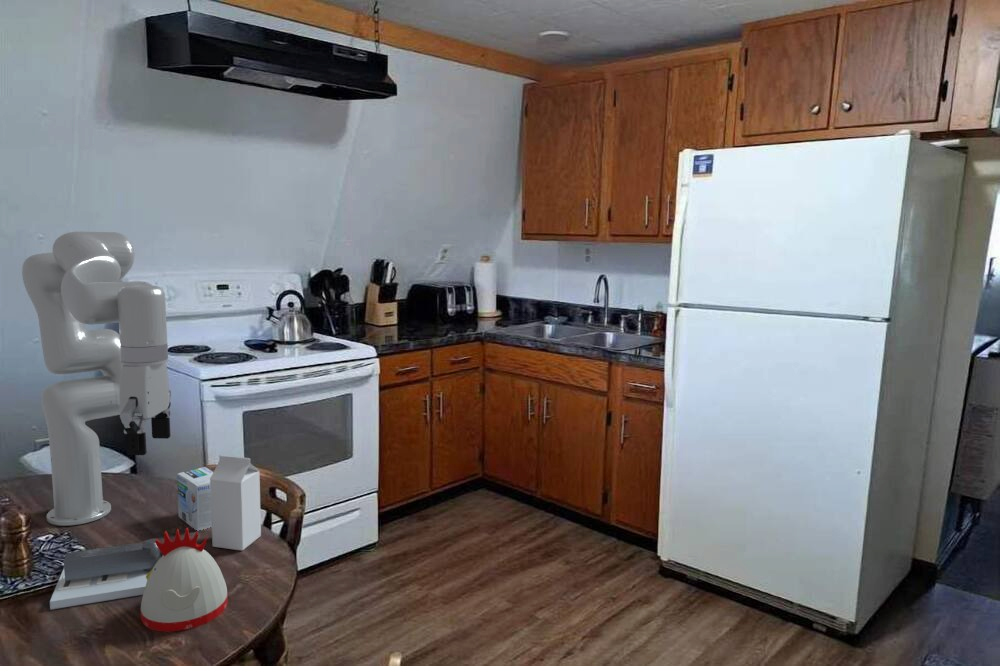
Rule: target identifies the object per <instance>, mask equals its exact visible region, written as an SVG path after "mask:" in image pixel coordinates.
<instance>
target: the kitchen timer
mask: <svg viewBox="0 0 1000 666" xmlns="http://www.w3.org/2000/svg"><path fill="white" fill-rule="evenodd" d="M189 531H190V530H189V528H188V527H186V528H185V532H184V537H183V539H182V538H181V536H180V530H179V528H177V529H176V532H175V535H174V536H175V537H174V540H171V538H170V536H169V534H168V531H167V530H165V531H164V535H163V537H164V539H163V542H161V540H160V541H158V540H157V539H158V538H155V539H156V540H155V543H156V545H157V547H158V548H159V550H160V554H162V556H161V558H160V559H159V560H158V562H156V564H155V566H154V567H153V569H152V570H151V571H150V572H149V573H148V574H147V575H146V578H147V583H146V586H145V590H144V593H143V595H142V599H141V603H140V620H141V622H142V624H143V625H144V626H146V627H147V628H148V629H150V630H155V631H157V632H171V631H172V632H181V631H180V630H182V631H186V630H190V628H191V629H194V628H197V627H200V626H203V625H204V624H208V623H209V622H212V621H213V620H214V619H216V618H218V617H219V616H220V615H221V614H222V613H224V611H225V610H226V608H227V606H228V587H227V584H226V580H225V578H224V576H223V573H222V570H221V568H220V567H219V565H218V563H217V561H216V560H215V559H214V557H213V556H212V555H211V554H210V553H209V552H208V551H207V550H205V546H206V545H207V541H208V537H205V538H204V539H203V541H202V542H201V544H198V543H197V542H198V537H199V531H196V533H195V535H194V536H193V537H192V538H191V536H190V532H189ZM224 609H225V610H224ZM172 632H171V633H172Z"/></svg>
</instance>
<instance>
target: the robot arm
mask: <svg viewBox="0 0 1000 666" xmlns="http://www.w3.org/2000/svg"><path fill="white" fill-rule="evenodd" d="M134 262H135V250H134V246H133V243H132V242H131V241H130V239H129V238H128V237H127V236H125V235H124V234H122V233H121V232H114V231H110V232H109V231H71V232H66V233H64V234H61V235H60V236H58V237H57V239H55V240H54V242H53V244H52V252H43V253H37V254H33V255H30V256H28V257H27V258H26V259H25V260H24V261H23V264H22V268H21V270H22V271H21V277H22V281H23V285H24V288H25V291H26V292H27V295H28V297H29V298H30V301H31V303H32V304H33V306H34V309H35V312H36V314H37V319H38V326H39V331H40V332H39V333H40V341H41V342H40V343H41V347H42V355H43V356H42V357H43V361H44V364H45V367H46V369H47V371H48V372H50V373H51V374H54V375H73V374H81V373H90V372H99V371H100V372H101V373H102V376H93V377H83V378H76V379H75V378H74V379H69V380H62V381H58V382H55V383H52V384H50V385H48V386H47V387H46V388H45V389H44V390H43V391H42V393H41V398H40V402H41V408H42V412H43V415H44V419H45V423H46V427H47V433H48V434H47V435H48V441H49V454H50V465H51V466H50V467H51V479H52V480H51V483H52V494H53V495H52V497H53V508H52V509H50V511H48V513H46V521H47V522H48V523H49V524H50V525H53V526H60V527H61V526H62V527H63V526H64V527H66V526H67V527H68V526H79V525H82V524H88V523H92V522H94V521H97V520H99V519H102V518H104V517H106V516H107V515H109V513H110V512H111V511H112V505H111V503H110V502H108V501H106V500H104V496H103V483H102V482H103V481H102V467H101V465H102V464H101V450H100V439H99V436H98V434H97V433H96V432H95V431H94V430H93V429H92V428H90V427H89V426H88V425H86V422H89V421H92V420H97V419H103V418H109V417H114V416H119V418H120V420H121V426H122V429H123V433H124V435H125V448H126V455H128V456H145V455H146V454H147V452H148V451H147V439H146V438H147V437H146V435H147V434H146V432H144V429H145V425H146V422H147V421H149V420H151V436H152V439H162V440H164V439H166V440H167V439H169V438H171V419H170V417H171V410H170V408H171V404H172V403H171V396H172V391H171V389H170V383H169V373H168V367H167V363H168V362H169V350H168V349H169V348H168V330H167V329H168V328H167V311H166V310H167V309H166V307H167V306H166V293H165V291H164V289H163V288H162V287H160V286H159V285H152V284H151V283H150V282H146V281H137V280H136V281H135V280H134V281H122V279H123V278H124V277H125V276H126V275H127V274H128V273H129V272H130V271H131V269H132V267H133V264H134ZM115 323H116V324H117V323H118V329H119V330H118V331H119V333H118V332H117V330H116V331H115V330H113V329H110V328H98V329H87V328H86V326H85V325H90V326H91V325H104V324H105V325H106V324H115ZM136 422H138V424H137V423H136Z"/></svg>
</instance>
